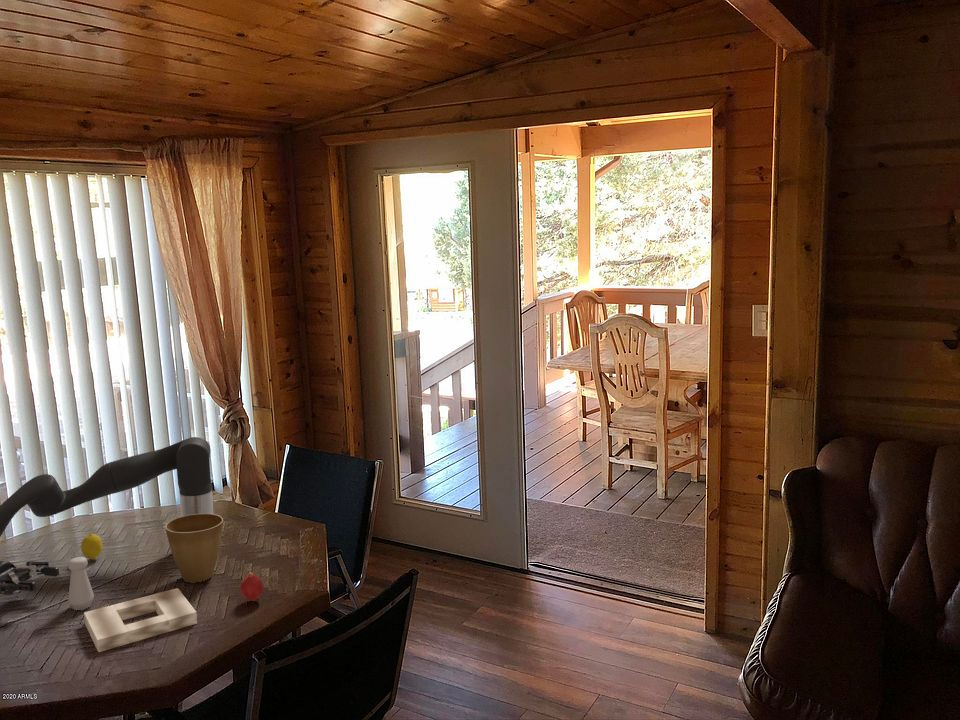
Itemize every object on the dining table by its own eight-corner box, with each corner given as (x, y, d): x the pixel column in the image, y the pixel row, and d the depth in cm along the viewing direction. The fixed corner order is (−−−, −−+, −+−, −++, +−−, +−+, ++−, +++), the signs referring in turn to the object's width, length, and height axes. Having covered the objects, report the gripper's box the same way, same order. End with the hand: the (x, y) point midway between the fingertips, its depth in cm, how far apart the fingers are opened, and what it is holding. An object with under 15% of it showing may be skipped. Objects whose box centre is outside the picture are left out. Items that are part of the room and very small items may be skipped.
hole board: (178, 598, 199) (177, 587, 199) (197, 623, 187) (196, 611, 186) (85, 624, 186) (84, 612, 186) (98, 652, 174) (97, 640, 173)
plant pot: (236, 576, 212) (233, 521, 210) (184, 594, 202) (181, 537, 199) (209, 561, 223) (206, 508, 220) (159, 577, 212) (155, 522, 209)
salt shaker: (99, 603, 197) (95, 556, 195) (81, 614, 191) (77, 565, 189) (82, 600, 199) (77, 552, 197) (63, 610, 193) (59, 561, 191)
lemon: (94, 564, 220) (92, 538, 219) (78, 562, 221) (75, 536, 220) (107, 556, 226) (105, 530, 224) (91, 555, 227) (89, 529, 225)
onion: (243, 596, 201) (242, 567, 199) (266, 595, 201) (264, 567, 200) (238, 607, 195) (237, 577, 194) (261, 606, 195) (260, 576, 194)
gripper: (-35, 573, 190) (25, 577, 188) (8, 550, 204) (64, 553, 202) (-31, 601, 191) (28, 606, 189) (11, 576, 205) (66, 580, 203)
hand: (46, 579), depth 195 cm, fingers open, 8 cm apart
